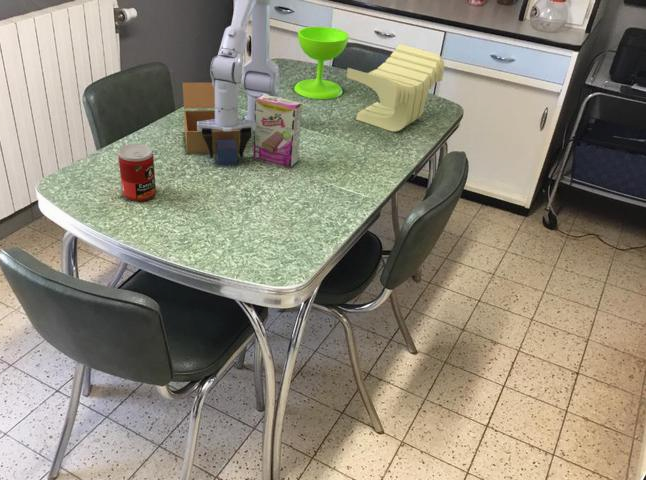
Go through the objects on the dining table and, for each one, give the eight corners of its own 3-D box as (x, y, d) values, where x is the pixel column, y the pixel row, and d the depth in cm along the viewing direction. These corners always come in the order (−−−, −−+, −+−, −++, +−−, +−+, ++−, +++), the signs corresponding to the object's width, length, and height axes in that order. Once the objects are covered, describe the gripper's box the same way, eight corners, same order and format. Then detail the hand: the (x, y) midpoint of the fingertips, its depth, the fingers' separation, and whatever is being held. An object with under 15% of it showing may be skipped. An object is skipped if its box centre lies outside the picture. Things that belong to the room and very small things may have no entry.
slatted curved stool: (388, 144, 180) (398, 82, 169) (340, 127, 187) (347, 67, 177) (434, 113, 200) (446, 56, 189) (390, 99, 207) (399, 43, 196)
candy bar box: (252, 158, 168) (254, 98, 159) (260, 151, 172) (263, 92, 162) (290, 169, 165) (295, 108, 155) (298, 161, 169) (303, 101, 159)
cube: (235, 157, 169) (235, 139, 166) (237, 165, 165) (237, 148, 162) (216, 157, 168) (215, 139, 165) (217, 166, 164) (217, 148, 161)
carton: (184, 132, 179) (183, 110, 175) (233, 131, 181) (234, 109, 178) (187, 154, 168) (186, 131, 164) (239, 153, 171) (239, 130, 167)
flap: (184, 108, 175) (183, 108, 175) (233, 107, 177) (233, 107, 177) (182, 82, 174) (182, 83, 174) (232, 82, 176) (232, 82, 177)
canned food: (140, 205, 147) (137, 161, 140) (115, 194, 150) (110, 151, 143) (163, 192, 152) (160, 149, 145) (137, 182, 155) (133, 140, 149)
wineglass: (348, 98, 206) (355, 41, 195) (300, 100, 203) (304, 42, 192) (335, 80, 218) (340, 26, 208) (289, 81, 215) (292, 26, 204)
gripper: (197, 112, 153) (199, 163, 161) (257, 111, 155) (256, 162, 163) (195, 101, 158) (197, 151, 167) (254, 100, 161) (252, 149, 169)
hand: (226, 155), depth 165 cm, fingers open, 7 cm apart
